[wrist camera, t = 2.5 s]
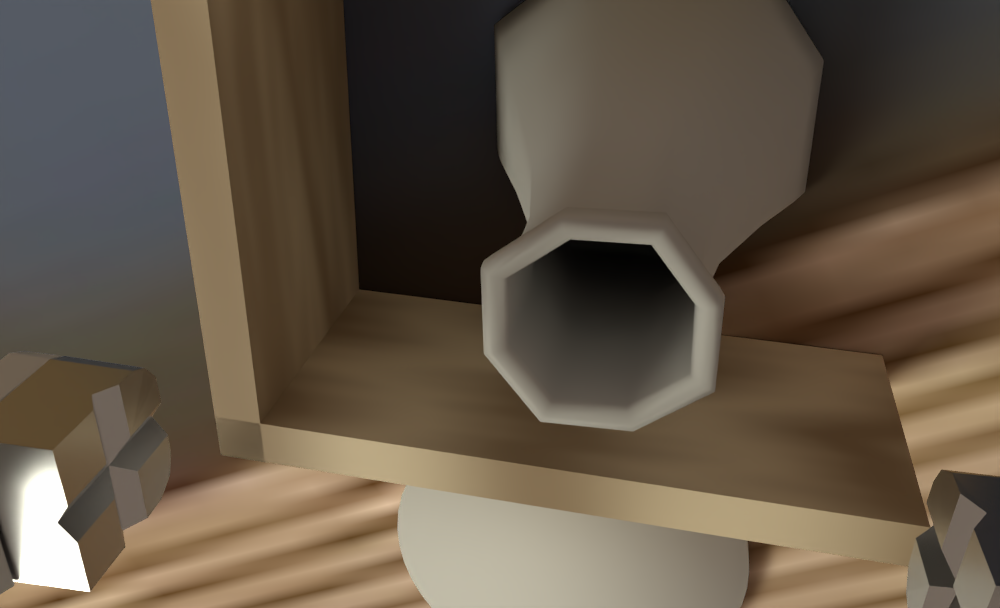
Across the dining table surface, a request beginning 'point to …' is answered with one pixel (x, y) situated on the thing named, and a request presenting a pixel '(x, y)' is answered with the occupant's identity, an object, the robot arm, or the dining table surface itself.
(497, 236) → the dining table surface
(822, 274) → the dining table surface
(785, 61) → the flask
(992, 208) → the dining table surface
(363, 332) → the u-shaped wooden frame
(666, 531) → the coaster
